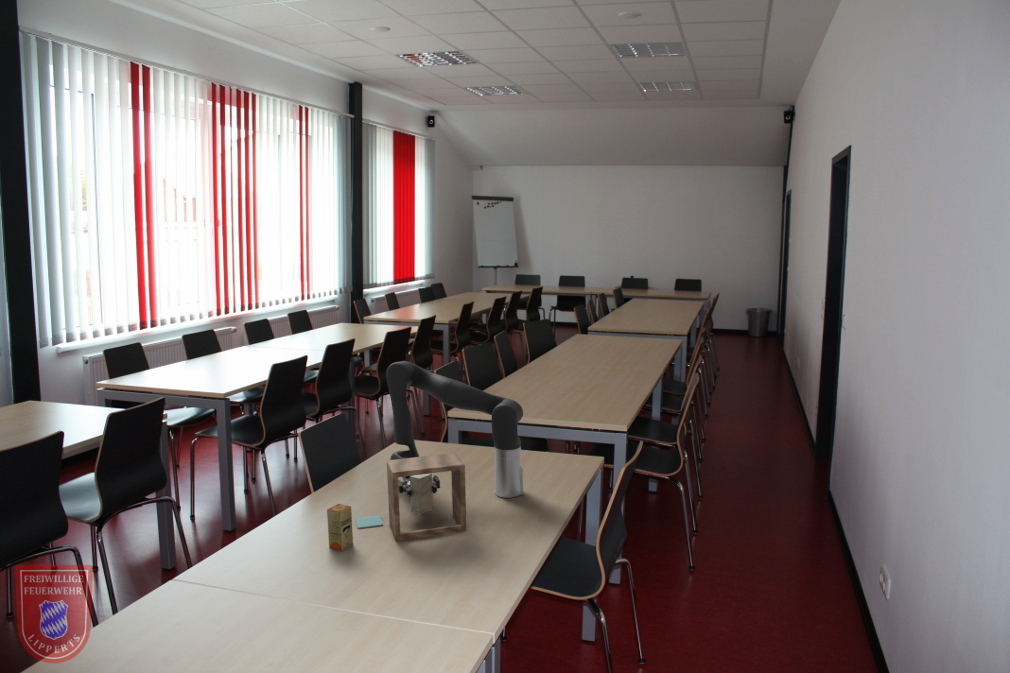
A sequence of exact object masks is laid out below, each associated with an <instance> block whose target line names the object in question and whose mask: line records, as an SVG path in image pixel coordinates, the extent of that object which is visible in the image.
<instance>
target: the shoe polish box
mask: <svg viewBox="0 0 1010 673" xmlns="http://www.w3.org/2000/svg"><path fill="white" fill-rule="evenodd" d="M326 514H327V515H326V518H327V530H328V531H327V532H328V533H327V534H328V548H329V549H331V548H332V550H336V551H339V552H343V551H345V550H347V549H348V548H350V547H352V546H354V536H353V519H352V518H353V516H352V515H353V514H352V505H351V506H350V505H345V504H341V503H337V504H335V505H332V506H331V507H329V508H327V510H326Z"/></svg>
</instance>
